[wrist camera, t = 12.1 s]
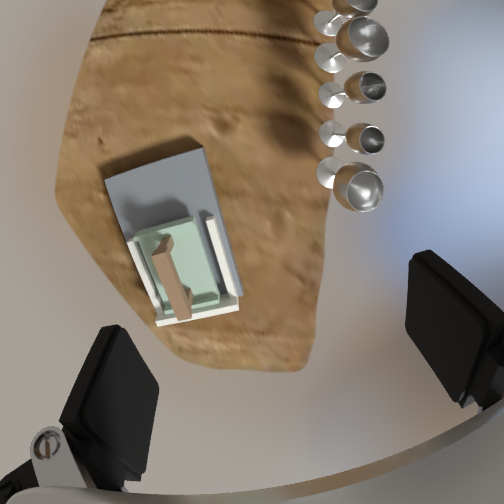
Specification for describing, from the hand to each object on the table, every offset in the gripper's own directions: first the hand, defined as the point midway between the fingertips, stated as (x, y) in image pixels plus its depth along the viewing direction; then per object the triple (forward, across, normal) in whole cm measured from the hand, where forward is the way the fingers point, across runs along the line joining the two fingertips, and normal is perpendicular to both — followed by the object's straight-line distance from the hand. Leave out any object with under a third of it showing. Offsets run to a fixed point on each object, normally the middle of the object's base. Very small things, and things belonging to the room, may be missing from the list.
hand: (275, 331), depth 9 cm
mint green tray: (+31, +11, +10) cm, 35 cm away
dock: (+34, +11, +7) cm, 37 cm away
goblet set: (+35, -15, -7) cm, 38 cm away
